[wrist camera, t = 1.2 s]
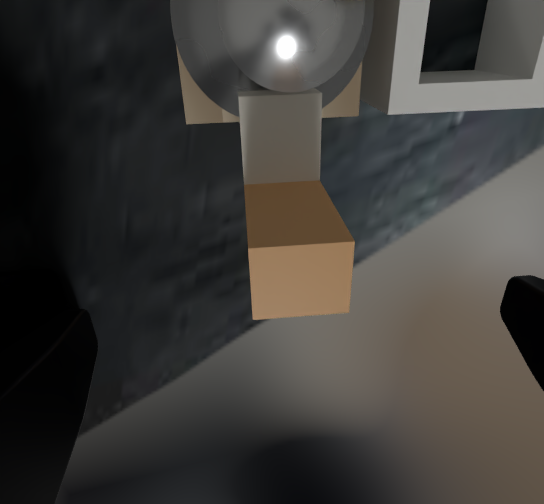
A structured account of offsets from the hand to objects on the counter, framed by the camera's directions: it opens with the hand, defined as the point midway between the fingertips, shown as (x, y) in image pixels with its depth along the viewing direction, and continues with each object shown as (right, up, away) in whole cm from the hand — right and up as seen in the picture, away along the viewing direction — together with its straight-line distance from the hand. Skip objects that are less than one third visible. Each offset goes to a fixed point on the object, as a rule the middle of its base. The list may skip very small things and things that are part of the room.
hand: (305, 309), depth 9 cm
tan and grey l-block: (0, +4, +5) cm, 7 cm away
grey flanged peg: (-1, +11, +8) cm, 13 cm away
